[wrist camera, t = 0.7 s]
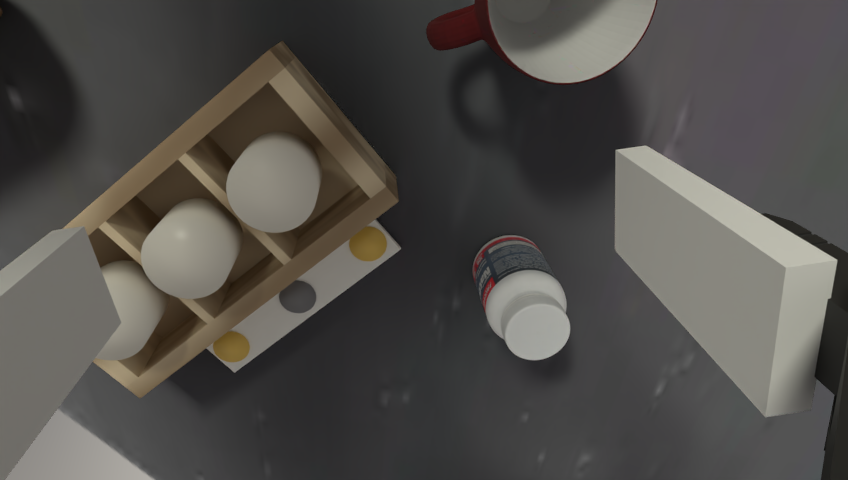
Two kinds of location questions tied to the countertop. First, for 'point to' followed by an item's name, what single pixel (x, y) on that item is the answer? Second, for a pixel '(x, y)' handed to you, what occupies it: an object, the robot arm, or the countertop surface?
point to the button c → (275, 182)
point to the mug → (549, 34)
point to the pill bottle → (521, 297)
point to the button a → (132, 308)
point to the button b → (192, 248)
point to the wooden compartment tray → (206, 178)
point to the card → (305, 296)
